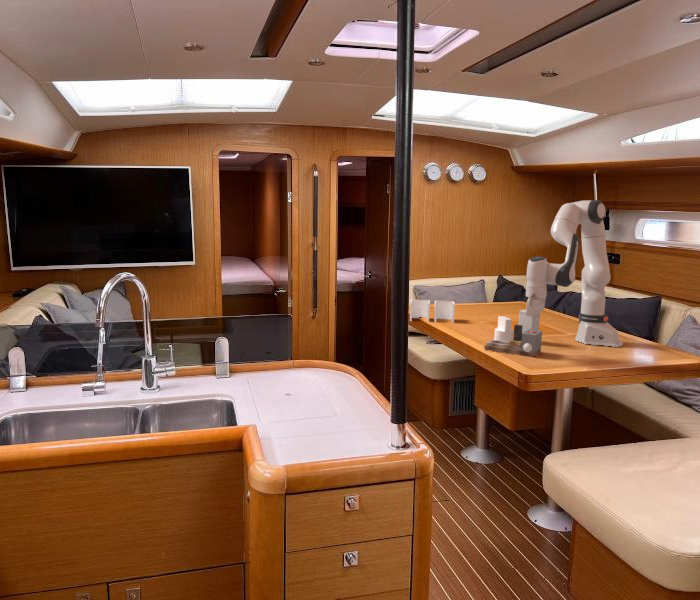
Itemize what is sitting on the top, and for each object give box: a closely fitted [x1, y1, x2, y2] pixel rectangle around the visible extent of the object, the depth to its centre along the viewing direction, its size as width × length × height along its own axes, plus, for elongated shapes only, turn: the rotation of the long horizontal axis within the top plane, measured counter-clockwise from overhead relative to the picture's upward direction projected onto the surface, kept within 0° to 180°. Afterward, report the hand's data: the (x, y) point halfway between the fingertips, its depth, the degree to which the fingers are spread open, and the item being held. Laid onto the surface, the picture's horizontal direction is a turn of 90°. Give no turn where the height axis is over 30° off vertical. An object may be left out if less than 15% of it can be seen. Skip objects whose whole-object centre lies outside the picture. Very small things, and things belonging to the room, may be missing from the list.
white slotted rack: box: [409, 299, 456, 324], centre depth 360 cm, size 25×11×11 cm, turn 84°
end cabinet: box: [520, 329, 543, 357], centre depth 285 cm, size 6×12×10 cm, turn 149°
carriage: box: [509, 323, 523, 347], centre depth 288 cm, size 5×8×9 cm, turn 149°
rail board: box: [483, 339, 542, 358], centre depth 290 cm, size 23×12×3 cm, turn 59°
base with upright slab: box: [493, 315, 514, 342], centre depth 308 cm, size 9×9×12 cm
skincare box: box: [517, 309, 541, 333], centre depth 309 cm, size 8×7×16 cm
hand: (534, 323), depth 283 cm, fingers closed
